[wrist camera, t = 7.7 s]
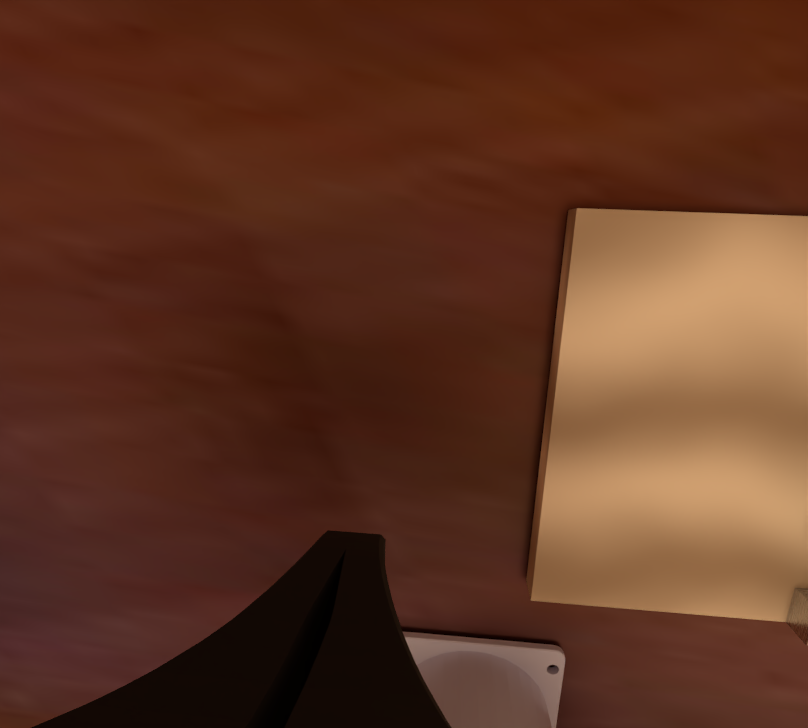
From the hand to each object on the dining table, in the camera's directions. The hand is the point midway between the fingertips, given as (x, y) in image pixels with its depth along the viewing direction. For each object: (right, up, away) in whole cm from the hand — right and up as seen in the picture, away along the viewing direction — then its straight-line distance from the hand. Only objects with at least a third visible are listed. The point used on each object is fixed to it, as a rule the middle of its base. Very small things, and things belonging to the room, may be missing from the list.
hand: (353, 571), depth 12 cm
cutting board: (+16, +2, +8) cm, 18 cm away
